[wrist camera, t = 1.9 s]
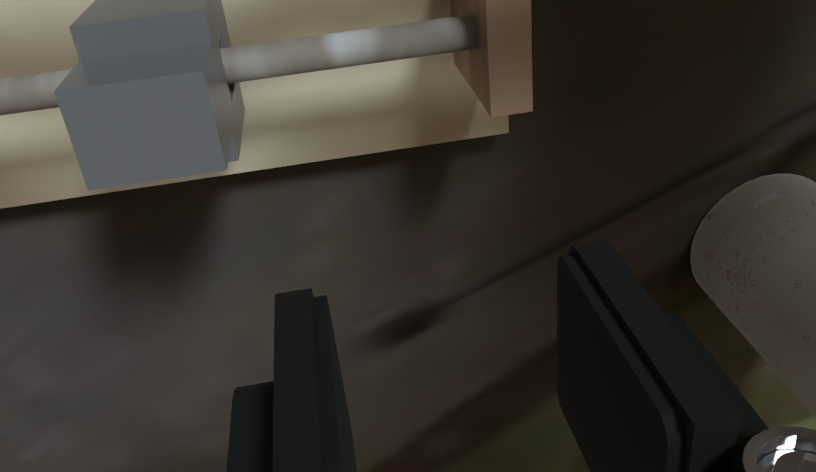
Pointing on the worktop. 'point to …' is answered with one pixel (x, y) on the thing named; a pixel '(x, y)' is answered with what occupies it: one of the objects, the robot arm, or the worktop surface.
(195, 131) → the sleeve
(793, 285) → the thermos bottle
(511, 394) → the worktop surface
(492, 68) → the rail
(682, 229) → the worktop surface
